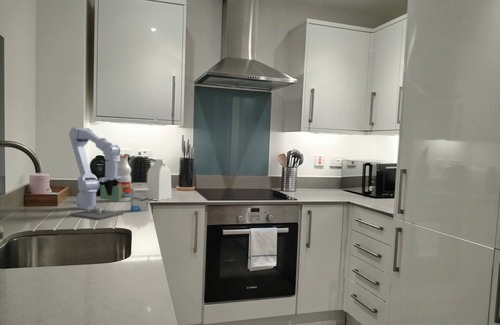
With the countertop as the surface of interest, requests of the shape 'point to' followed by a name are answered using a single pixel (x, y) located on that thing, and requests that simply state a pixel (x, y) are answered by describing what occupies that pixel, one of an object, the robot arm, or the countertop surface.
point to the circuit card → (114, 196)
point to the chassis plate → (96, 213)
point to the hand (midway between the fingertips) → (110, 194)
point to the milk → (159, 181)
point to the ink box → (139, 197)
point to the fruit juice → (124, 179)
